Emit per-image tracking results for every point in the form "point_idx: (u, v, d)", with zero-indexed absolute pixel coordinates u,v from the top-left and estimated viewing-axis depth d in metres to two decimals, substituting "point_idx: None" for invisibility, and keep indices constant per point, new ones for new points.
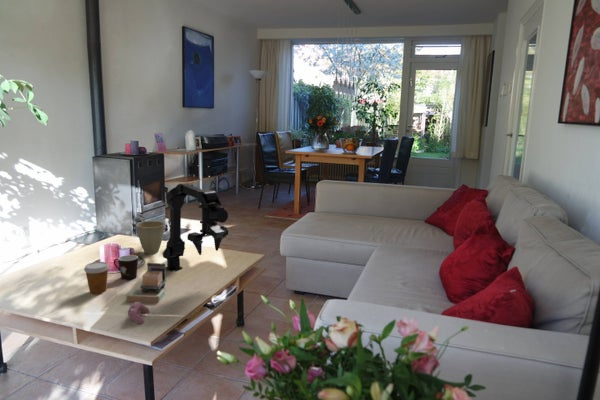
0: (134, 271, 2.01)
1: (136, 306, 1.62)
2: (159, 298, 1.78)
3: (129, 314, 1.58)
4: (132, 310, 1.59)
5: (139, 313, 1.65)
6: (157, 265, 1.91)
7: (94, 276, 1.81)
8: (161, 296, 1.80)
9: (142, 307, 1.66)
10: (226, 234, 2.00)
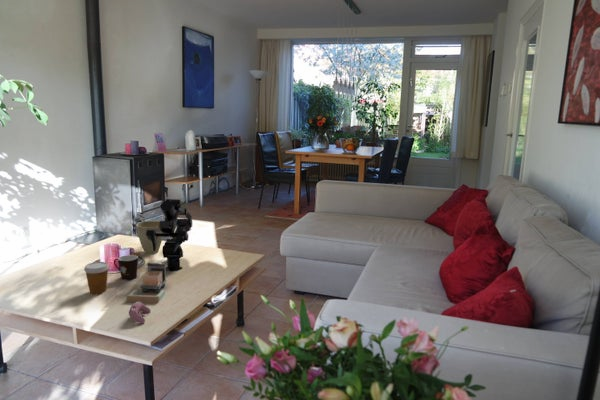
0: (134, 271, 2.01)
1: (137, 306, 1.62)
2: (159, 298, 1.78)
3: (130, 314, 1.58)
4: (133, 310, 1.59)
5: (140, 313, 1.65)
6: (157, 265, 1.91)
7: (94, 276, 1.81)
8: (161, 296, 1.80)
9: (143, 307, 1.67)
10: (182, 233, 2.03)
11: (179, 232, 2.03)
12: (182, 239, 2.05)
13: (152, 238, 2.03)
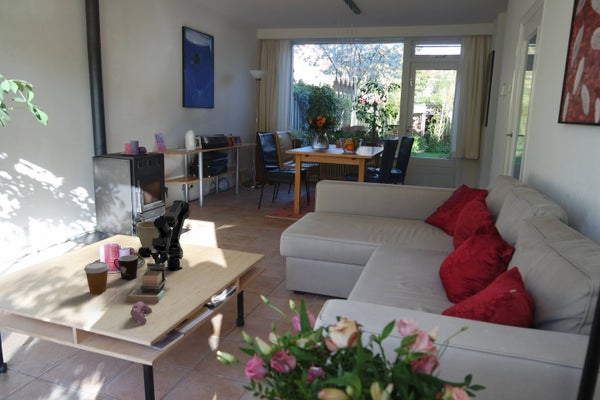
0: (134, 271, 2.01)
1: (139, 306, 1.62)
2: (159, 298, 1.78)
3: (132, 314, 1.59)
4: (135, 310, 1.59)
5: (142, 313, 1.65)
6: (157, 265, 1.91)
7: (94, 276, 1.81)
8: (161, 296, 1.80)
9: (145, 307, 1.67)
10: (176, 251, 1.94)
11: (173, 250, 1.95)
12: (166, 257, 1.96)
13: (154, 256, 1.94)
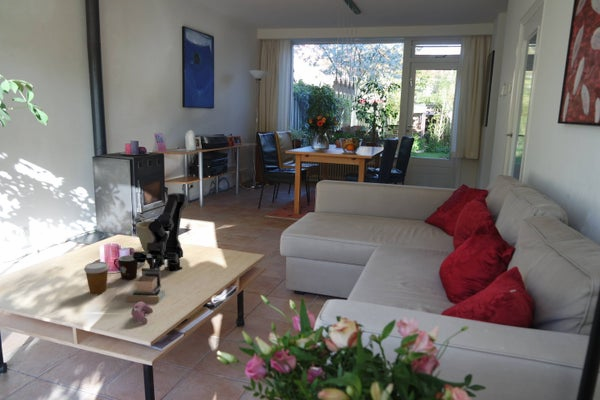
0: (134, 271, 2.01)
1: (140, 306, 1.62)
2: (159, 298, 1.78)
3: (133, 314, 1.59)
4: (136, 310, 1.59)
5: (142, 313, 1.65)
6: (152, 270, 1.85)
7: (94, 276, 1.81)
8: (161, 296, 1.80)
9: (145, 307, 1.67)
10: (171, 256, 1.88)
11: (168, 255, 1.89)
12: (161, 262, 1.90)
13: (149, 261, 1.88)
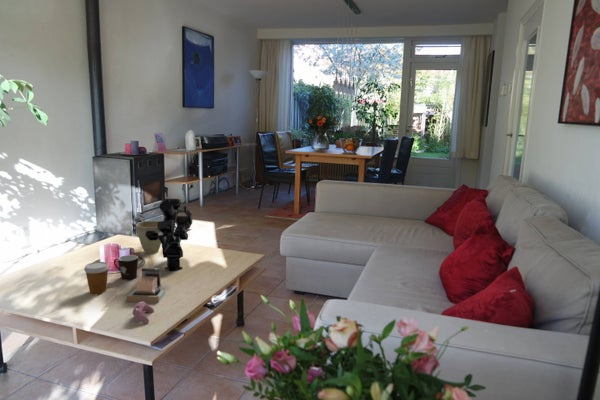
0: (134, 271, 2.01)
1: (141, 306, 1.62)
2: (159, 298, 1.78)
3: (134, 314, 1.59)
4: (137, 310, 1.59)
5: (144, 313, 1.65)
6: (152, 270, 1.85)
7: (94, 276, 1.81)
8: (161, 296, 1.80)
9: (146, 307, 1.67)
10: (181, 233, 2.01)
11: (178, 232, 2.02)
12: (172, 239, 2.04)
13: (161, 239, 2.02)
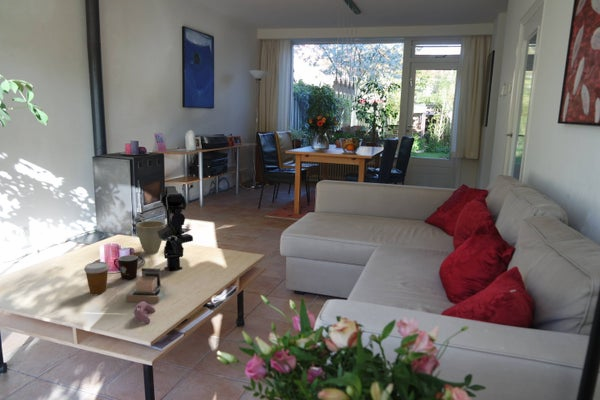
0: (134, 271, 2.01)
1: (142, 306, 1.62)
2: (159, 298, 1.78)
3: (135, 314, 1.59)
4: (138, 310, 1.60)
5: (145, 313, 1.65)
6: (152, 270, 1.85)
7: (94, 276, 1.81)
8: (161, 296, 1.80)
9: (148, 307, 1.67)
10: (180, 242, 1.95)
11: (178, 239, 1.96)
12: None
13: (170, 241, 2.02)
